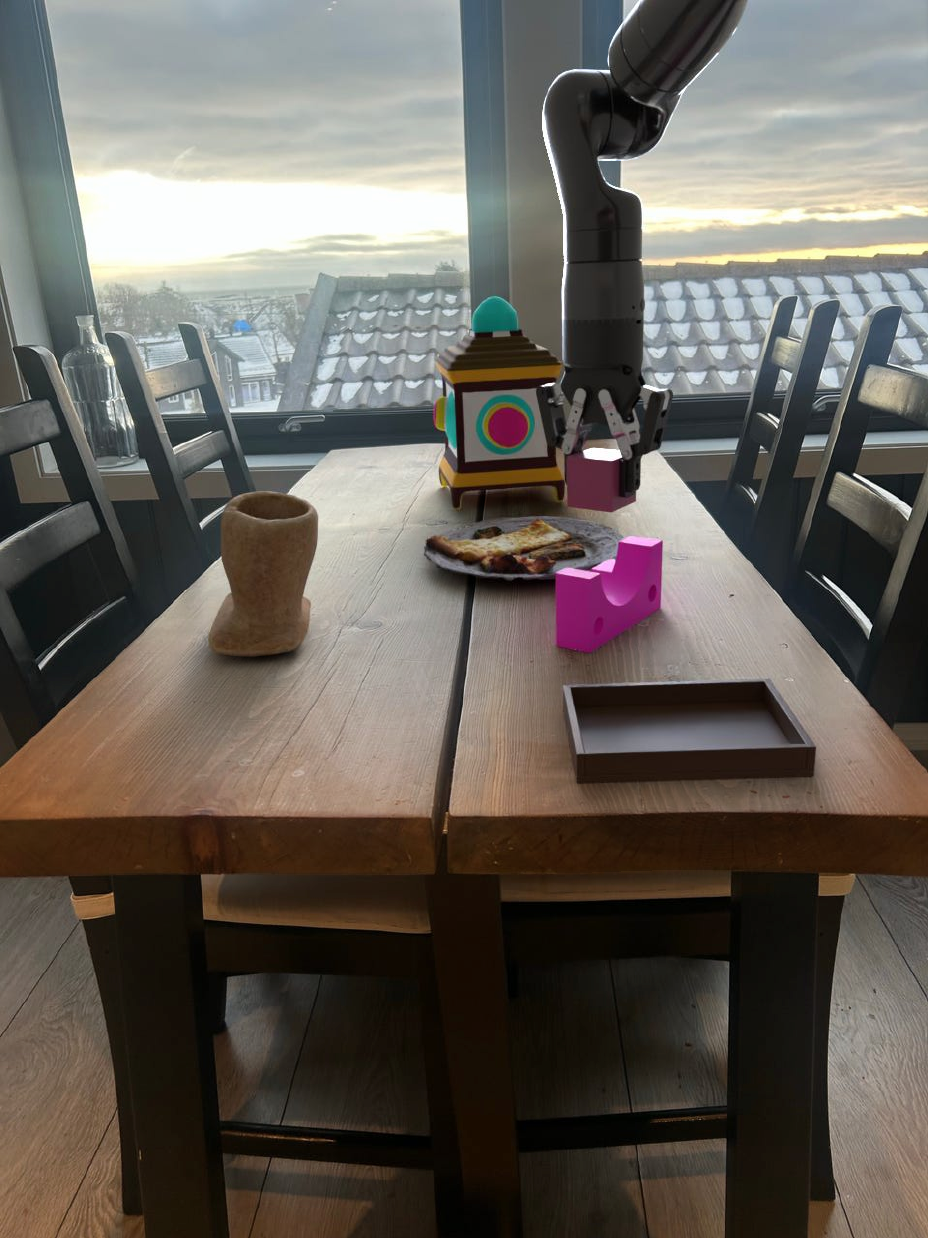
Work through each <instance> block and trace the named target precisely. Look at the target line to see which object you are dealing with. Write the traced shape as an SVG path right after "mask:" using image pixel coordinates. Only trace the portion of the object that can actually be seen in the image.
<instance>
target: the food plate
mask: <svg viewBox="0 0 928 1238" xmlns="http://www.w3.org/2000/svg"><path fill="white" fill-rule="evenodd" d="M625 538H626V537H625V536H623V535H622V534H621V533H620V532H619V530H617V531H616V529H614V528H613V527H610V526H607V525H603V524H599V523H597V522H594V521H592V520H587V519H585V520H584V519H583V520H582V519H577V518H571V517H564V516H562V517H561V516H547V515H546V516H539V515H538V516H524V517H523V516H522V517H505V516H504V517H496V518H495V517H494V518H490V519H485V520H480V521H477V522H473V523H469V524H466V525H462V526H459V527H456V528H452V529H449V530H446V531H443V532H442V533H440V534H438V535H432V536H430V537H429V538H428V537H427V538H426V540H425V545H424V547H423V550H424V553H423V556H424V557H426V559H427V560H428V561H429V562H431V564H433V565H434V566H435V567H436V568H437V569H441V570H443V571H446V572H449V573H454V574H461V575H462V574H463V575H468V576H473V577H476V578H479V579H487V578H488V579H489V580H492V579H494V580H497V579H498V583H501V582H502V581H501V578H503V581H507V582H511V581H514V579H517V578H522V580H523V581H531V580H535V579H537V580H542V581H543V580H556V573H557V572H559V571H561V570H563V569H565V568H573V569H579V570H584V571H589V570H590V569H591V568H593V567H595V566H597V565H599V564H601V563H603V562H605V561H607V560H609V559H613V560H616V556H617V551H618V542H619V541H621V540H623V539H625Z"/></svg>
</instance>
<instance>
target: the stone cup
mask: <svg viewBox="0 0 928 1238" xmlns="http://www.w3.org/2000/svg"><path fill="white" fill-rule="evenodd" d="M318 540H319V513H318V511H317V509H316V508H315V506H314V505H313V504H312V503H311V502H310V501H307V500H306V499H303V498H300V497H297V496H296V495H293V494H288V493H284V492H277V491H269V490H268V491H250V492H246V493H242V494H239V495H236V496H234V497H232V498H231V499H230V500H229V501H228V502H227V503H226V504H225V506H224V508H223V510H222V515H221V521H220V550H221V551H220V554H221V555H220V556H221V562H222V567H223V570H224V573H225V575H226V578H227V581H228V584H229V588H230V593H228V594H227V595H226V596H225V598H224V600H223V601H222V602H221V605H220V607H219V609H218V610H217V613H216V616H214V617H215V618H214V620H213V622H212V624H211V627H210V629H209V633H208V637H207V643H208V647H209V648H210V650H212V652H214V653H218V654H221V655H224V656H232V657H260V656H261V657H262V656H271V655H278V654H282V653H283V654H284V653H287V652H291V651H293V650H295V649H296V648H298V647H300V645H301V644H302V643H303V642H304V640H305V637H306V636H307V633H308V631H309V626H310V621H311V609H312V602H311V600H310V599H309V598H308V597H305V596H304V593H305V589H306V586H307V581H308V578H309V574H310V571H311V568H312V565H313V562H314V558H315V556H316V552H317V548H318Z"/></svg>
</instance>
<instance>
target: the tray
mask: <svg viewBox="0 0 928 1238" xmlns="http://www.w3.org/2000/svg"><path fill="white" fill-rule="evenodd" d="M563 712H564V713H563ZM562 713H563V717H564V723H566V724H565V729H566V734H567V739H568V744H569V750H570V754H571V760H572V765H573V770H574V775H575V781H576V784H590V783H595V784H596V783H623V782H624V783H625V782H657V781H660V782H663V781H693V780H727V779H732V780H733V779H760V778H766V779H767V778H791V777H792V778H797V777H814V775H815V766H816V753H817V746H816V744H815V743H814V741H813V740H812V738H811V737H810V736H809V734H808V733H807V731H806V730H805V728H804V727H803V726H802V724H801V722H800V721H799V719H798V718H797V716H796V715H795V714H794V712H793V711H792V710H791V708H790V706H789V705H788V704H787V702H786V700H785V699H784V697H783V696H782V695H781V693H780V691H779V690H778V688H777V687H776V686H775V685H774V683H773V681H772V680H771V678H743V679H742V678H740V679H709V680H708V679H707V680H705V679H704V680H678V681H677V680H676V681H675V680H673V681H646V682H643V681H642V682H614V683H613V682H612V683H587V684H586V683H583V684H582V683H581V684H579V683H578V684H563V685H562Z"/></svg>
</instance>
